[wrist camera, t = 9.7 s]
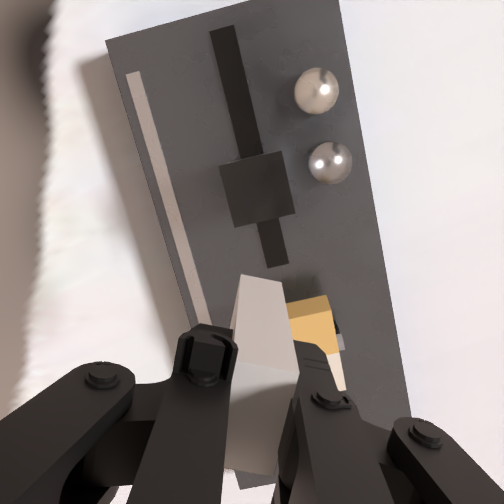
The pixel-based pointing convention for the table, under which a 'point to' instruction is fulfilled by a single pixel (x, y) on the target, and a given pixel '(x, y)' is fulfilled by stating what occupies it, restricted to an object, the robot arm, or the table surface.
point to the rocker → (318, 331)
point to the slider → (257, 188)
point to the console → (297, 167)
